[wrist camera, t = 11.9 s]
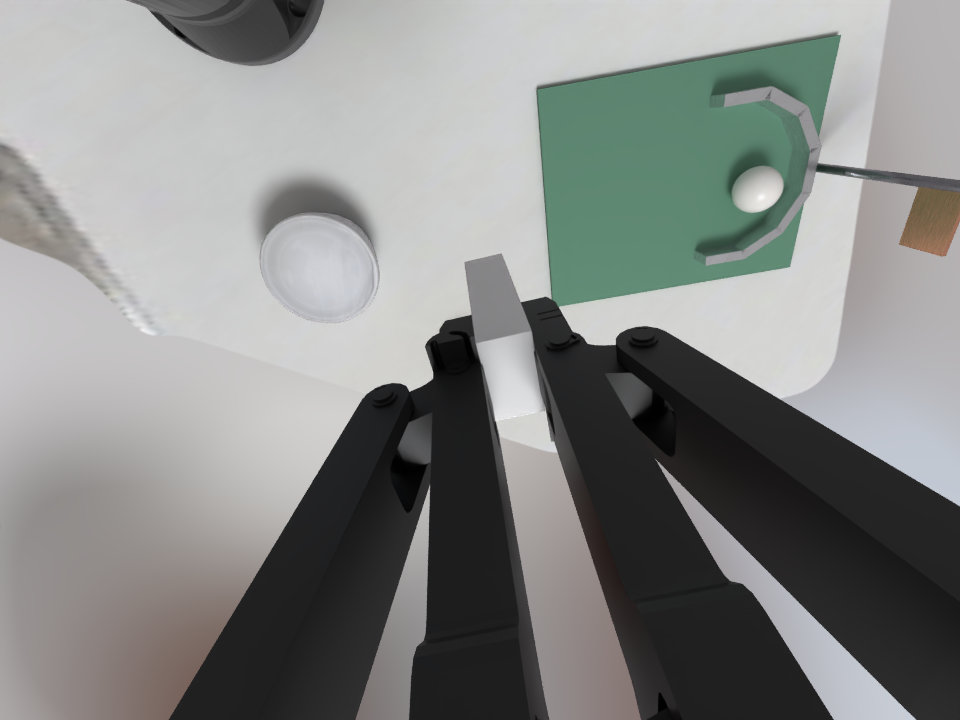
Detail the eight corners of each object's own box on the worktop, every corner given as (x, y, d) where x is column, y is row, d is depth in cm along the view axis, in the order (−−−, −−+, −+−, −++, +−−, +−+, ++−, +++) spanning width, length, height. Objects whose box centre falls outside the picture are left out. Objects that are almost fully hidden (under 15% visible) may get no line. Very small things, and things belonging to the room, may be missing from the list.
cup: (710, 95, 40) (848, 83, 26) (831, 74, 40) (1034, 50, 26) (693, 259, 48) (793, 315, 34) (794, 241, 48) (935, 291, 34)
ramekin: (403, 281, 48) (398, 298, 43) (318, 320, 50) (305, 340, 45) (349, 184, 43) (337, 192, 38) (256, 231, 44) (233, 244, 40)
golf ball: (724, 169, 43) (763, 176, 39) (759, 158, 44) (799, 163, 40) (718, 212, 45) (754, 222, 42) (751, 201, 46) (789, 209, 43)
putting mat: (536, 89, 40) (537, 89, 39) (836, 35, 39) (841, 34, 39) (552, 305, 50) (553, 307, 50) (786, 265, 50) (789, 267, 50)
